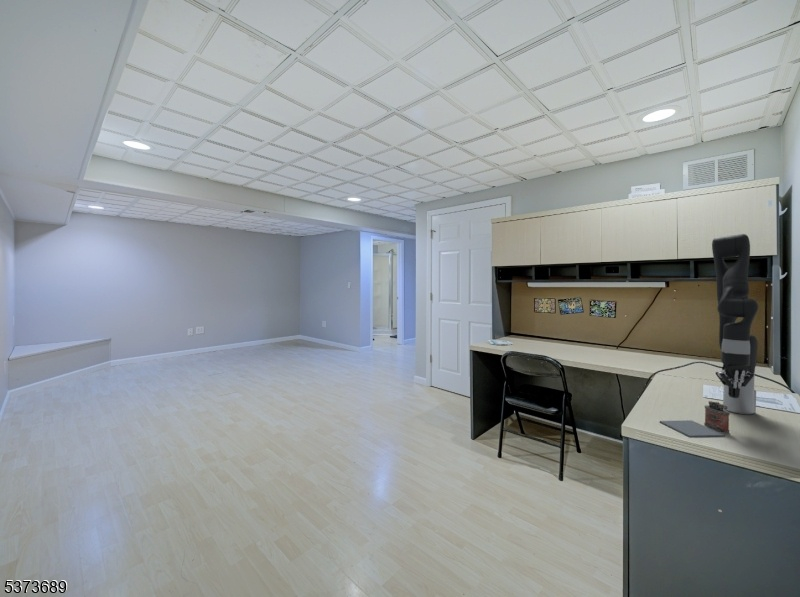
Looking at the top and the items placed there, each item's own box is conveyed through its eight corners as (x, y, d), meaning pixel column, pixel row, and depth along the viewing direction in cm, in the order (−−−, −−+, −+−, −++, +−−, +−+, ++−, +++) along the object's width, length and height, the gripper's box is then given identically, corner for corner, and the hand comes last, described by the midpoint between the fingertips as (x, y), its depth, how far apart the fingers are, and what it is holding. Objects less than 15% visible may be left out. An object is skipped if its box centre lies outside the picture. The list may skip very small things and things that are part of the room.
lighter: (701, 424, 128) (702, 398, 128) (709, 424, 129) (710, 398, 128) (723, 433, 120) (724, 406, 120) (732, 433, 121) (732, 406, 120)
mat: (691, 421, 131) (691, 420, 131) (724, 436, 118) (725, 434, 118) (659, 422, 130) (659, 420, 130) (689, 437, 117) (689, 435, 117)
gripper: (742, 349, 128) (740, 394, 128) (708, 349, 128) (707, 394, 128) (763, 353, 121) (761, 400, 121) (728, 353, 120) (726, 400, 121)
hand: (733, 397), depth 125 cm, fingers closed
